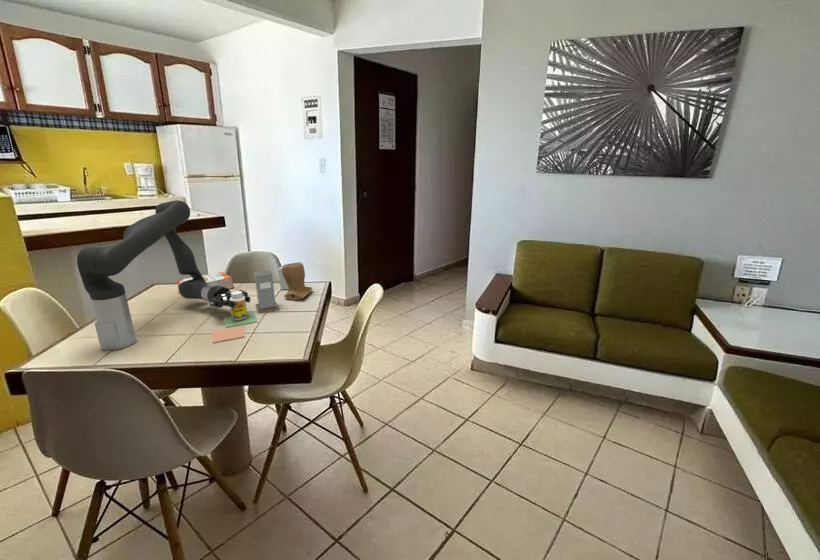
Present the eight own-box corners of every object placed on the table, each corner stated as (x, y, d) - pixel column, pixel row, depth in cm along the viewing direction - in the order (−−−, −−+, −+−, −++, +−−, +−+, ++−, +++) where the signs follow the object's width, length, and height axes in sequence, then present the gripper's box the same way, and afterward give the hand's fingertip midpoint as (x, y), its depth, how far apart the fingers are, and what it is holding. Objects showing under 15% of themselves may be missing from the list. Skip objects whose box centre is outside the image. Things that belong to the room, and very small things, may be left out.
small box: (292, 290, 188) (289, 268, 185) (280, 290, 188) (277, 268, 185) (297, 284, 196) (294, 264, 193) (285, 285, 196) (283, 264, 193)
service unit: (279, 310, 163) (274, 274, 159) (258, 313, 160) (253, 277, 155) (275, 303, 171) (271, 269, 166) (255, 306, 167) (251, 271, 163)
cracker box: (232, 276, 190) (184, 286, 177) (234, 288, 192) (186, 299, 178) (222, 270, 200) (175, 279, 187) (224, 282, 202) (178, 292, 188)
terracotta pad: (244, 337, 138) (244, 336, 138) (213, 343, 134) (212, 342, 134) (242, 327, 147) (242, 325, 147) (212, 332, 143) (212, 331, 143)
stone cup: (290, 290, 188) (287, 259, 184) (315, 290, 187) (312, 259, 182) (277, 301, 173) (273, 267, 169) (303, 301, 172) (300, 268, 168)
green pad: (257, 322, 151) (257, 321, 151) (225, 327, 147) (225, 326, 146) (254, 312, 161) (254, 311, 161) (224, 317, 156) (224, 316, 156)
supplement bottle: (230, 321, 150) (226, 295, 147) (233, 315, 155) (230, 290, 152) (246, 319, 151) (242, 294, 148) (248, 314, 157) (245, 289, 154)
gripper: (196, 290, 152) (222, 298, 143) (230, 280, 164) (257, 287, 155) (199, 308, 154) (225, 317, 145) (233, 298, 166) (259, 305, 157)
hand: (241, 302), depth 150 cm, fingers open, 5 cm apart
